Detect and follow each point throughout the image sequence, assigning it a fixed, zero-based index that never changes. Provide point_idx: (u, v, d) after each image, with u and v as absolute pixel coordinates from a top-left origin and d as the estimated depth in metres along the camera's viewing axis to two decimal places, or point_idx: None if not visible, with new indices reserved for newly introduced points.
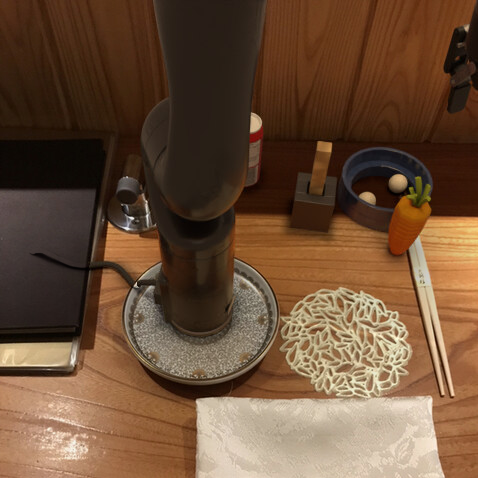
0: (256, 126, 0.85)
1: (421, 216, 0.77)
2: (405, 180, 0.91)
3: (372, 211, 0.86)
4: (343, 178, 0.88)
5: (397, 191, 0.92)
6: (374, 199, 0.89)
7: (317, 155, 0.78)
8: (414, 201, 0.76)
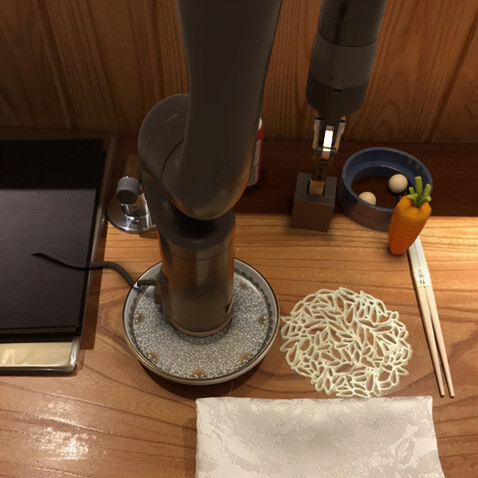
0: None
1: (421, 216, 0.77)
2: (405, 180, 0.91)
3: (372, 211, 0.86)
4: (343, 178, 0.88)
5: (397, 191, 0.92)
6: (374, 199, 0.89)
7: None
8: (414, 201, 0.76)
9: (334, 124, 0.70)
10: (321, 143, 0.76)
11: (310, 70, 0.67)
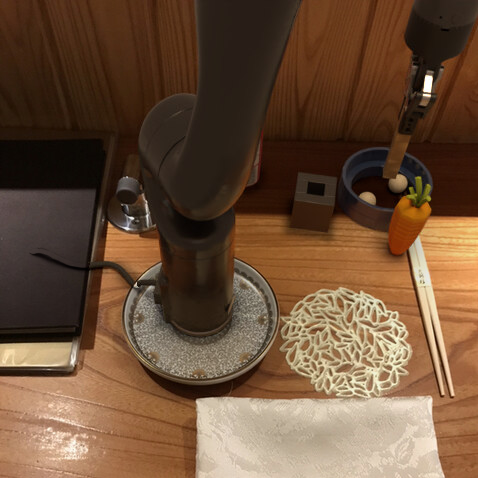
0: None
1: (421, 216, 0.77)
2: (405, 180, 0.91)
3: (372, 211, 0.86)
4: (343, 178, 0.88)
5: (397, 191, 0.92)
6: (374, 199, 0.89)
7: None
8: (414, 201, 0.76)
9: (435, 68, 0.68)
10: (415, 92, 0.74)
11: (415, 10, 0.65)
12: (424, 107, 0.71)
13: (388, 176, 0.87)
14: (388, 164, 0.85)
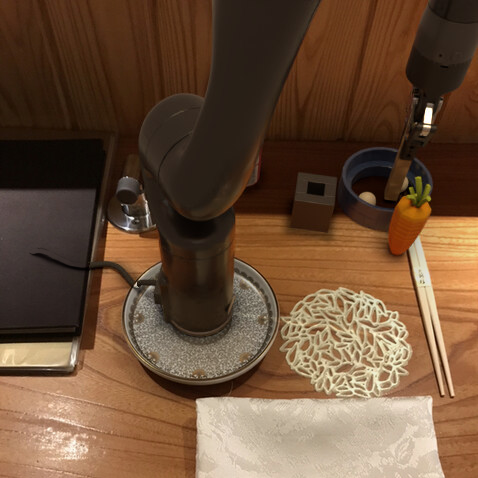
0: None
1: (421, 216, 0.77)
2: (406, 180, 0.91)
3: (372, 211, 0.86)
4: (343, 178, 0.88)
5: None
6: (374, 199, 0.89)
7: None
8: (414, 201, 0.76)
9: (435, 101, 0.72)
10: (415, 121, 0.77)
11: (416, 48, 0.69)
12: (424, 137, 0.75)
13: (390, 198, 0.91)
14: (389, 187, 0.89)
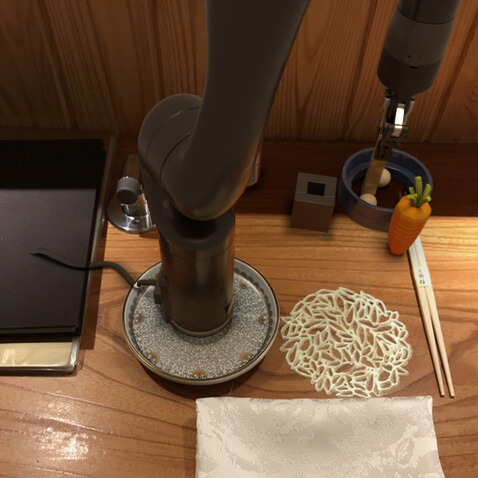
0: None
1: (421, 216, 0.77)
2: None
3: (372, 211, 0.86)
4: (343, 178, 0.88)
5: None
6: (374, 202, 0.89)
7: None
8: (414, 201, 0.76)
9: (406, 102, 0.72)
10: (388, 121, 0.78)
11: (386, 48, 0.69)
12: (396, 137, 0.75)
13: None
14: (365, 187, 0.89)
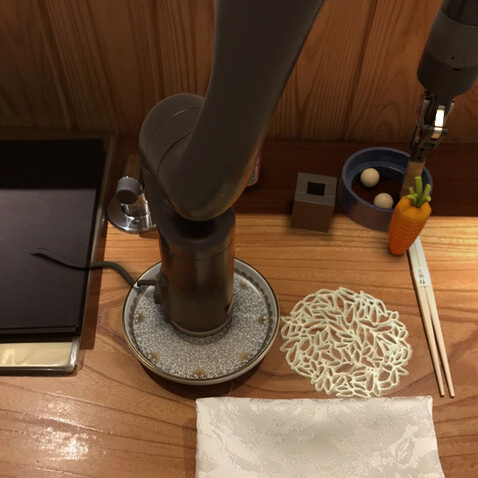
0: None
1: (421, 216, 0.77)
2: (364, 184, 0.93)
3: (372, 211, 0.86)
4: (343, 178, 0.88)
5: None
6: (384, 195, 0.89)
7: None
8: (414, 201, 0.76)
9: (446, 103, 0.72)
10: (426, 123, 0.77)
11: (428, 50, 0.69)
12: (435, 139, 0.75)
13: None
14: (404, 189, 0.89)
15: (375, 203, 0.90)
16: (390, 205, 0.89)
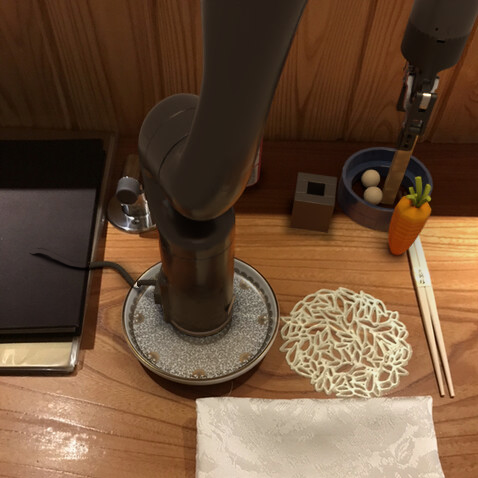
0: None
1: (421, 216, 0.77)
2: None
3: (372, 211, 0.86)
4: (343, 178, 0.88)
5: None
6: (365, 191, 0.91)
7: None
8: (414, 201, 0.76)
9: (431, 78, 0.70)
10: None
11: (411, 22, 0.67)
12: (424, 111, 0.70)
13: (386, 203, 0.92)
14: (385, 191, 0.90)
15: None
16: (374, 190, 0.89)
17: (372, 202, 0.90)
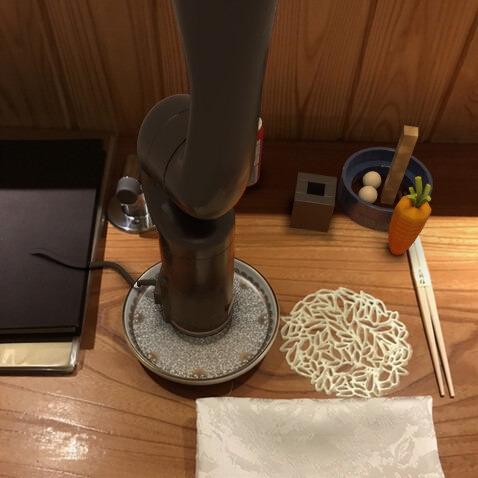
0: None
1: (421, 216, 0.77)
2: None
3: (372, 211, 0.86)
4: (343, 178, 0.88)
5: None
6: (359, 193, 0.92)
7: (404, 139, 0.81)
8: (414, 201, 0.76)
9: None
10: None
11: None
12: None
13: (386, 203, 0.92)
14: (385, 191, 0.90)
15: None
16: (363, 191, 0.90)
17: None
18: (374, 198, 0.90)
